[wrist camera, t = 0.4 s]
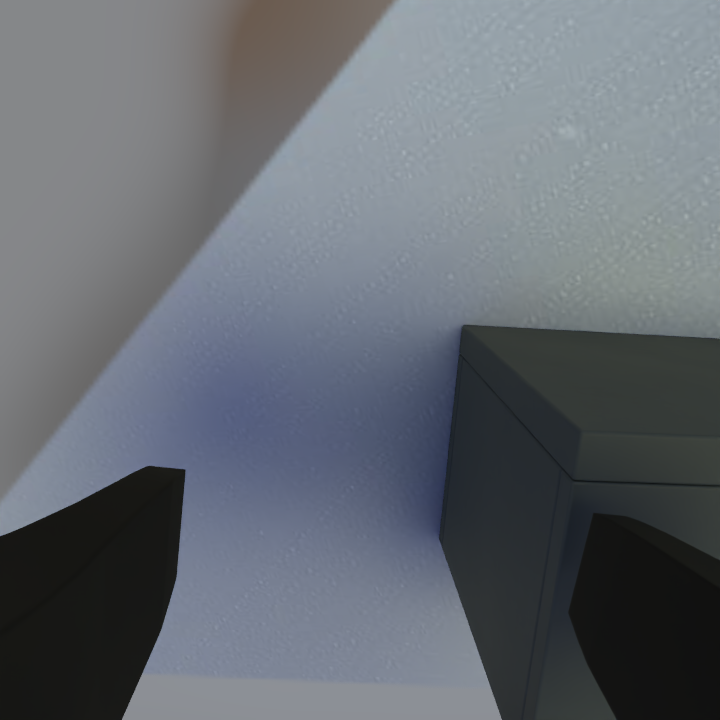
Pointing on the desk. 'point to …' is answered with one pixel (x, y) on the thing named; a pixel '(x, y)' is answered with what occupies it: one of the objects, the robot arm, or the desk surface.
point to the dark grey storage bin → (568, 487)
